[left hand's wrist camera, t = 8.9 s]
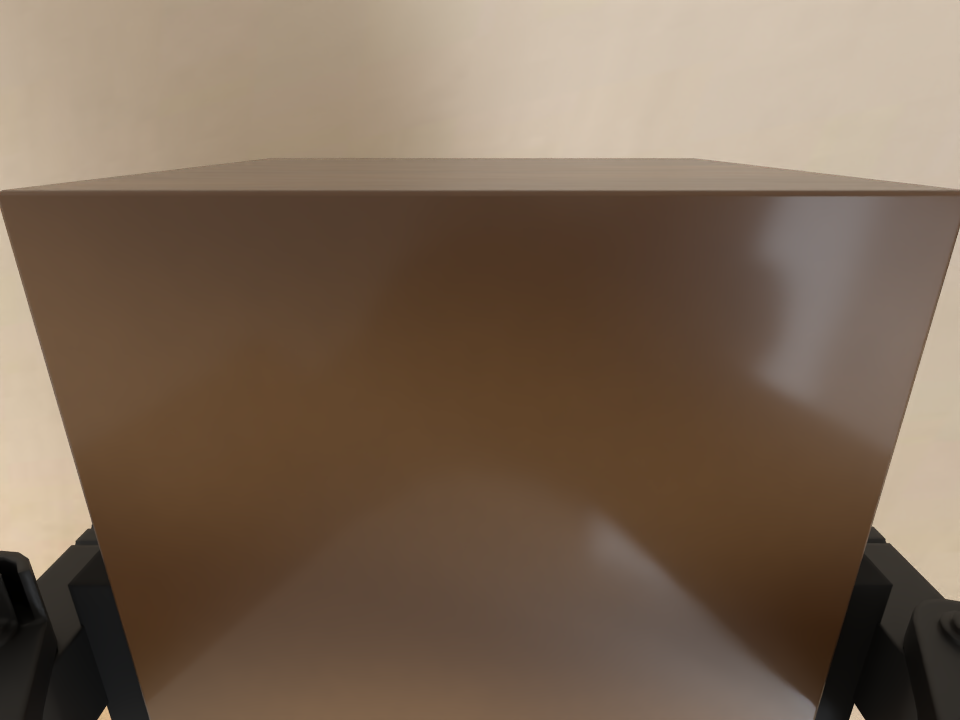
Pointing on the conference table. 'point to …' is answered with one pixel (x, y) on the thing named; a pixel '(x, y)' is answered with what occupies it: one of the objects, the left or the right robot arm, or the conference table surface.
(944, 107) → the conference table surface
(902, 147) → the conference table surface
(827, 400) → the thick board
